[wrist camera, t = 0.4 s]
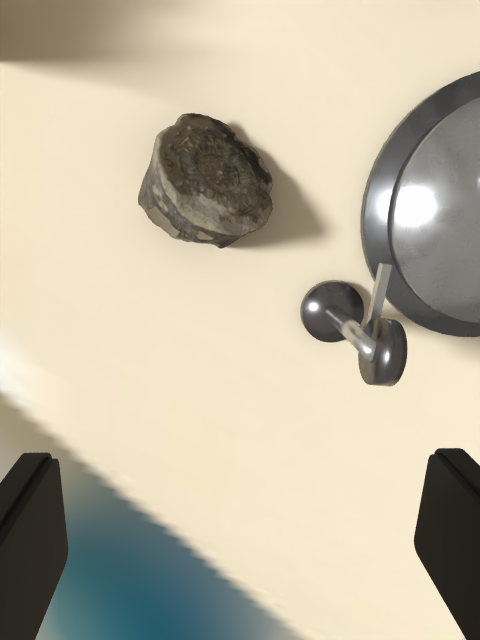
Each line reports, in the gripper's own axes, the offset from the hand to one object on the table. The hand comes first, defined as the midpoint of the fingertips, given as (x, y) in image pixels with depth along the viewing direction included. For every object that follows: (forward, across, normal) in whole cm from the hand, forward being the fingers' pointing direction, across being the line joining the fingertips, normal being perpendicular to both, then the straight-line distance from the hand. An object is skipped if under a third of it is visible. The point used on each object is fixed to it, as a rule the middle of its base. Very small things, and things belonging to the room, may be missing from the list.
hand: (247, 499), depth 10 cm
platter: (+29, -25, -7) cm, 38 cm away
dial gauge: (+30, -11, +1) cm, 32 cm away
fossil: (+30, +1, -8) cm, 31 cm away
